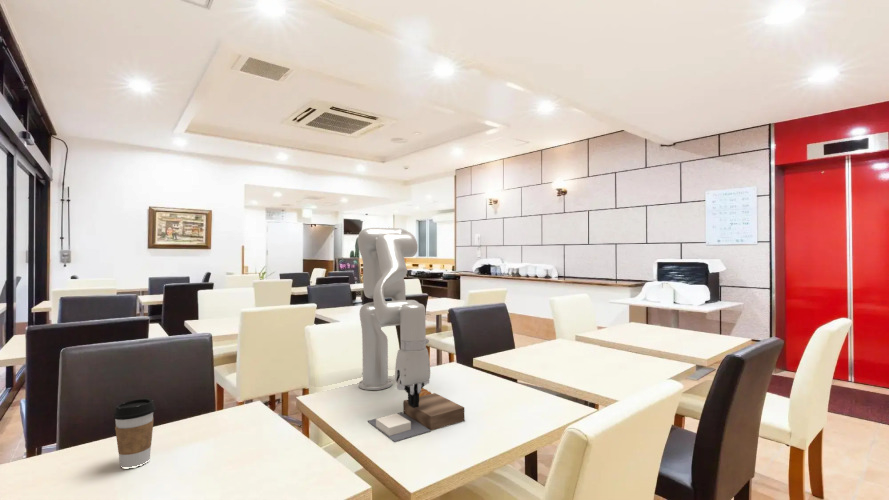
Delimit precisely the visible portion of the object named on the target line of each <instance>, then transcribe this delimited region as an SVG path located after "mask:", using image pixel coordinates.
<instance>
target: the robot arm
mask: <svg viewBox="0 0 889 500" xmlns="http://www.w3.org/2000/svg"><path fill="white" fill-rule="evenodd" d="M357 246H358V251H359V253H360V257H361V259H362V260H361V261H362V274H363V275H362V279H363V282H362V283H363V294H364V296H365V297H366V298H368V299H373V301H372V302H370V301H369V302H367V303H365V304H363V305H362V306H361V307H360V308H359V320H360V327H361V339H362V341H361V342H362V343H361V345H362V348H361V349H362V353H361V354H362V372H361V375H362V379H361V380H360V381H359V382H358V388H359V389H362V390H366V391H380V390H385V389H387V388H390V387H392V385H393V380H392V379H390V378H389V355H388V354H389V353H388V352H389V346H388V345H389V344H388V342H389V340H388V339H389V338H388V336H387V335H386V333H385V332H384V331H383V329H382V328H385V327H393V326H399V328H400V329H399V330H400V333H399V334H400V349H398V350H397V352H396V353H397V354H396V358H395V368H394V370H395V371H394V381H395V382H396V383H397V384H396V389H397V390H399V391H405V392H406V393H407V400H408V404H409V406H411V407H412V408H415V407H419V393H421V389H422V388H424V386H426V385H428V384H430V378H431V363H430V362H431V361H430V356H429V355H430V353H429V351H428V348H427V344H429V343H430V341H429V339H428V338H426V337H427V335H426V332H427V331H426V330H427V329H426V327H427V326H426V306H425V305H424V304H423V303H420V302H419V301H418V300H415V299H407V298H406V281H405V279H404V278H405V277H406V275H407V274H408V267H407V265H406V260H405V258H412V257H415V256H416V255H417V252H418V242H417V239H416V237H415V236H414V234H412V233H411V232H410V231H407V230H405V229H403V228H398V227H397V228H396V227H395V228H394V227H393V228H392V227H388V228H387V227H369V228H363V229H362V230H360V231H359V234H358V236H357ZM389 298H390V299H391V300H389V301H388V300H387V301H386V299H389Z"/></svg>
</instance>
